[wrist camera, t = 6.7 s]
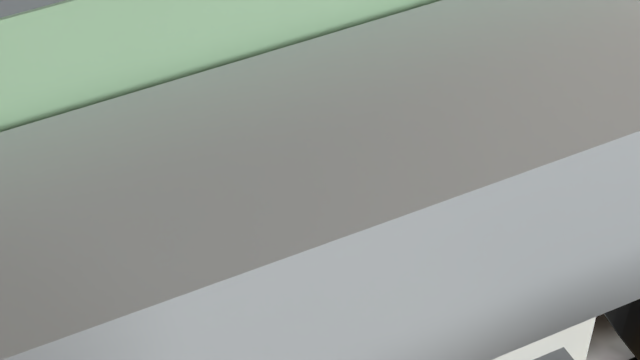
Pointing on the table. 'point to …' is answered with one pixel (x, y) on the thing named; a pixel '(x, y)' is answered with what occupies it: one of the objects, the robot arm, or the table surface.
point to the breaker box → (174, 63)
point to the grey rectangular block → (339, 196)
